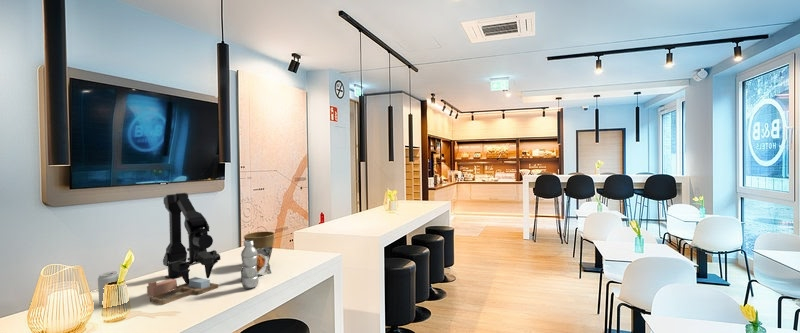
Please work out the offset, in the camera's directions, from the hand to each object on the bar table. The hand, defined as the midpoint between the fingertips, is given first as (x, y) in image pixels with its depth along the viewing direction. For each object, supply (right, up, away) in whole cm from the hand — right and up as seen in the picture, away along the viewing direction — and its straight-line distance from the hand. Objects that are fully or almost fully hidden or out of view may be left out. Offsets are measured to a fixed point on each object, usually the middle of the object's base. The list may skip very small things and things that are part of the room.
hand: (198, 281), depth 161 cm
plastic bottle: (+23, -3, -1) cm, 23 cm away
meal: (+21, -2, +12) cm, 24 cm away
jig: (-3, -3, -6) cm, 7 cm away
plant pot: (+14, -2, +34) cm, 37 cm away
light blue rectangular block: (0, -3, 0) cm, 3 cm away
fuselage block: (-14, -4, -3) cm, 14 cm away
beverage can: (-27, -5, -15) cm, 31 cm away
